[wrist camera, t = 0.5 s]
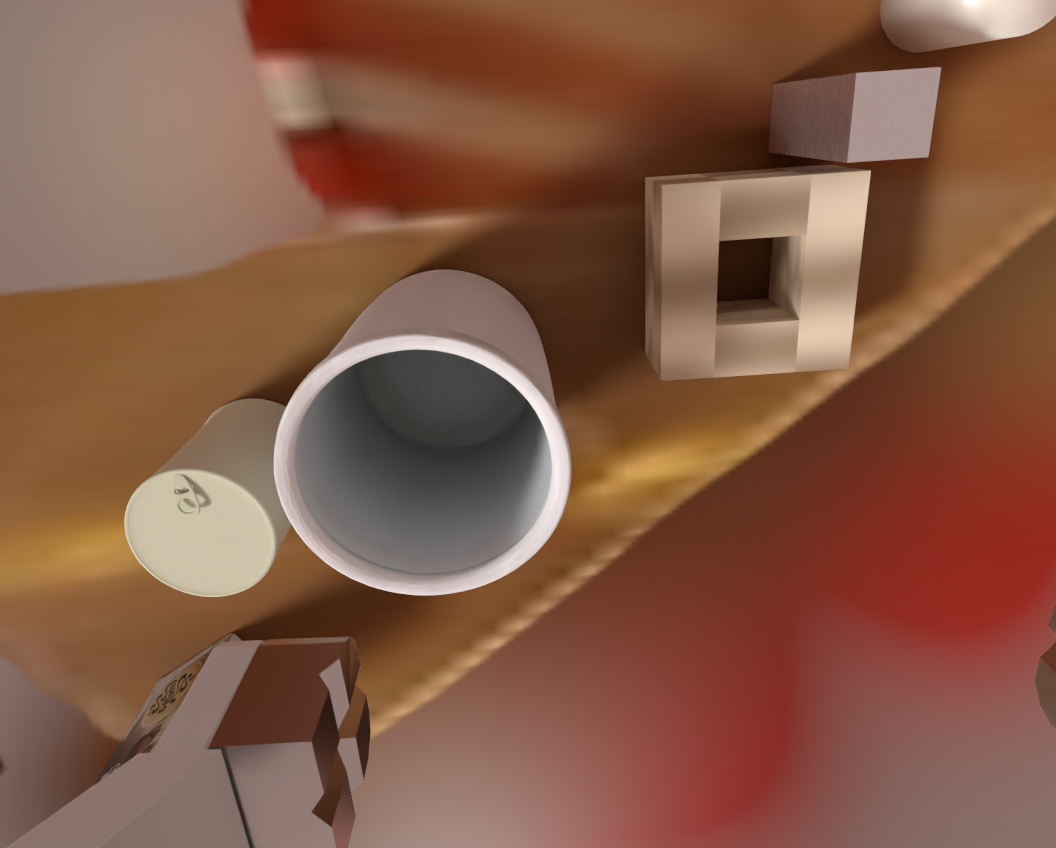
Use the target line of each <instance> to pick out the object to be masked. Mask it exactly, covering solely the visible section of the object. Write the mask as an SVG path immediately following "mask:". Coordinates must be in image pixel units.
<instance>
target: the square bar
mask: <svg viewBox="0 0 1056 848" xmlns="http://www.w3.org/2000/svg"><path fill="white" fill-rule="evenodd" d="M940 73H941V67H933V68H919V69H905V70H891V71H877V72H863V73H852V74H845V75H838V76H830V77H823V78H816V79H808V80H801V81H793V82H786V83H779V84H773V87H772V103H771V120H770V136H769V153H777V154H784V155H792V156H799V157H807V158H815V159H822V160H830V161H837V162H845V163H851V162H865V161H880V160H894V159H908V158H922V157H929V150H930V143H931V136H932V129H933V122H934V115H935V108H936V101H937V94H938V87H939V80H940Z"/></svg>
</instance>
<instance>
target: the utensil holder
mask: <svg viewBox="0 0 1056 848" xmlns="http://www.w3.org/2000/svg"><path fill="white" fill-rule="evenodd" d="M273 460H274V477H275V483H276V487H277V491H278V495H279V498H280V501H281V504H282V507H283V509H284V511H285V513H286V515H287V517H288V519H289V521H290V522H291V524H292V526H293V527H294V529H295V530H296V532H297V533H298V534H299V536H300V537H301V538H302V540H303V541H304V542H305V543H306V544H307V546H308V547H309V548H310V549H311V550H312V551H313V552H314V553H315V554H316V555H317V556H319V557H320V558H321V559H322V560H323V561H324V562H326V563H327V564H328V565H330V566H331V567H333V568H334V569H336V570H337V571H339V572H340V573H342V574H344V575H346V576H348V577H350V578H351V579H353V580H356V581H358V582H361V583H363V584H365V585H368V586H371V587H374V588H377V589H381V590H385V591H389V592H394V593H400V594H409V595H442V594H450V593H456V592H461V591H466V590H470V589H473V588H477V587H480V586H483V585H486V584H488V583H491V582H493V581H495V580H497V579H499V578H501V577H503V576H505V575H507V574H509V573H511V572H512V571H514V570H515V569H517V568H518V567H520V566H521V565H522V564H524V563H525V562H526V561H527V560H529V559H530V558H531V557H532V556H533V555H534V554H535V553H536V552H537V551H538V550H539V549H540V548H541V547H542V546H543V545H544V544H545V542H546V541H547V540H548V538H549V537H550V536H551V534H552V533H553V531H554V530H555V528H556V527H557V525H558V523H559V521H560V519H561V517H562V514H563V512H564V509H565V506H566V503H567V499H568V495H569V490H570V484H571V455H570V448H569V442H568V438H567V434H566V430H565V427H564V424H563V422H562V419H561V416H560V414H559V412H558V410H557V408H556V404H555V398H554V393H553V388H552V383H551V378H550V373H549V368H548V364H547V360H546V356H545V353H544V349H543V345H542V342H541V339H540V336H539V333H538V331H537V329H536V326H535V324H534V322H533V320H532V319H531V317H530V315H529V314H528V312H527V311H526V310H525V308H524V307H523V306H522V305H521V303H520V302H519V301H518V300H517V299H516V298H515V297H514V296H513V295H512V294H511V293H509V292H508V291H507V290H506V289H504V288H503V287H501V286H500V285H498V284H497V283H495V282H493V281H491V280H489V279H487V278H484V277H482V276H479V275H476V274H473V273H469V272H465V271H458V270H447V269H445V270H433V271H426V272H422V273H418V274H415V275H411V276H409V277H407V278H404V279H402V280H400V281H399V282H397V283H395V284H393V285H392V286H391V287H389V288H388V289H386V290H385V291H384V292H383V293H382V294H381V295H379V296H378V297H377V298H376V299H375V300H374V301H373V302H372V303H371V304H370V305H369V306H368V307H367V308H366V309H365V310H364V311H363V313H362V314H361V315H360V316H359V317H358V318H357V319H356V321H355V322H354V323H353V325H352V326H351V327H350V329H349V330H348V331H347V333H346V334H345V335H344V337H343V338H342V339H341V341H340V342H339V343H338V344H337V345H336V347H335V348H334V349H333V350H332V352H331V353H330V354H329V356H327V357H326V358H325V359H324V360H323V361H321V362H320V363H319V364H318V365H317V366H316V367H315V368H314V369H313V370H312V371H311V372H310V373H309V374H308V375H307V376H306V377H305V379H304V380H303V381H302V382H301V384H300V385H299V386H298V388H297V389H296V391H295V392H294V394H293V396H292V398H291V399H290V401H289V403H288V405H287V407H286V409H285V411H284V413H283V416H282V418H281V421H280V424H279V427H278V431H277V435H276V440H275V447H274V459H273Z"/></svg>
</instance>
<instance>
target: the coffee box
mask: <svg viewBox="0 0 1056 848" xmlns="http://www.w3.org/2000/svg"><path fill="white" fill-rule="evenodd" d="M230 641H242V640H241V639H240V638H239V637H238V636H237V635H236V634H234V633H230V634H229V635H227V636H225V637H224V638H222V639H221V640H219V641H218V642H216V643H215V644H213V645H212V646H210V647H209V648H207V649H206V650H204V651H203V652H201V653H200V654H198V655H197V656H195V657H194V658H192V659H191V660H189V661H188V662H186V663H185V664H183V665H182V666H180V667H179V668H177V669H176V670H174V671H173V672H171V673H170V674H168V675H167V676H165V677H164V678H162V679H160V680H159V681H158V682H157V683H156V685H155V687H154V689H153V690H152V692H151V693H150V695H149V697H148V698H147V700H146V702H145V703H144V705H143V706H142V708H141V710H140V711H139V713H138V714H137V716H136V718H135V719H134V721H133V722H132V724H131V726H130V727H129V729H128V731H127V732H126V734H125V735H124V737H123V739H122V740H121V742H120V743H119V745H118V746H117V748H116V750H115V751H114V753H113V754H112V756H111V757H110V759H109V760H108V762H107V764H106V766H105V767H104V769H103V770H102V772H101V773H100V775H99V777H98V779H97V780H96V782H95V783H94V785H95V784H97V783H98V782H99V781H101V780H102V779H104V778H105V777H106V776H108V775H109V774H111V773H112V772H113V771H115V770H116V769H118V768H119V767H120V766H122V765H123V764H125V763H126V762H127V761H129V760H130V759H132V758H133V757H134V756H136V755H137V754H139V753H153V751H154V750H155V748H156V746H157V744H158V743H159V741H160V739H161V738H162V736H163V734H164V732H165V731H166V729H167V727H168V726H169V724H170V722H171V720H172V719H173V717H174V715H175V714H176V712H177V710H178V708H179V707H180V705H181V703H182V702H183V700H184V698H185V696H186V695H187V693H188V691H189V690H190V688H191V686H192V684H193V683H194V681H195V679H196V678H197V676H198V674H199V672H200V671H201V669H202V667H203V666H204V664H205V662H206V660H207V659H208V657H209V655H210V654H211V652H212V650H213V649H214V648H215V647H216V646H218V645H220V644H221V643H223V642H230ZM94 785H93V786H94Z"/></svg>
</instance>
